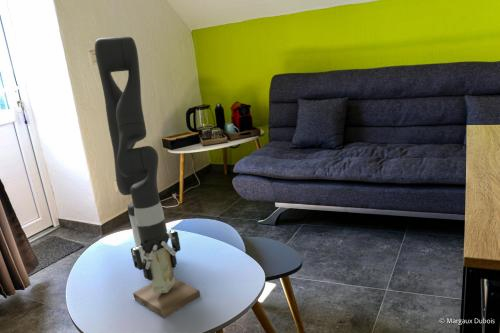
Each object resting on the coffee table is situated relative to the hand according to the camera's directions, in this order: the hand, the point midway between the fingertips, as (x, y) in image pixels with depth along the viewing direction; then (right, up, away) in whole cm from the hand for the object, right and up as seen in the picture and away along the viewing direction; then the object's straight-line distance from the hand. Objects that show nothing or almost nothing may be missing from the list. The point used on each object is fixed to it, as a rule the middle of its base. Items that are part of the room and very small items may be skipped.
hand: (161, 273), depth 121 cm
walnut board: (+1, -7, +2) cm, 8 cm away
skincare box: (+1, -4, +1) cm, 5 cm away
